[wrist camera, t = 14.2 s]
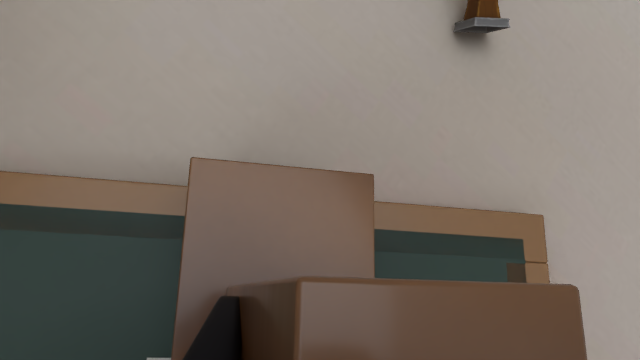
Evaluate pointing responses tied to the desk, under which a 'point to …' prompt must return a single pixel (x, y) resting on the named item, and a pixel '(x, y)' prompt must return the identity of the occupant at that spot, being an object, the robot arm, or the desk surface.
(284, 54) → the desk surface
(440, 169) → the desk surface
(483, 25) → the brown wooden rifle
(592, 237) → the desk surface
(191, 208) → the duster
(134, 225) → the board
